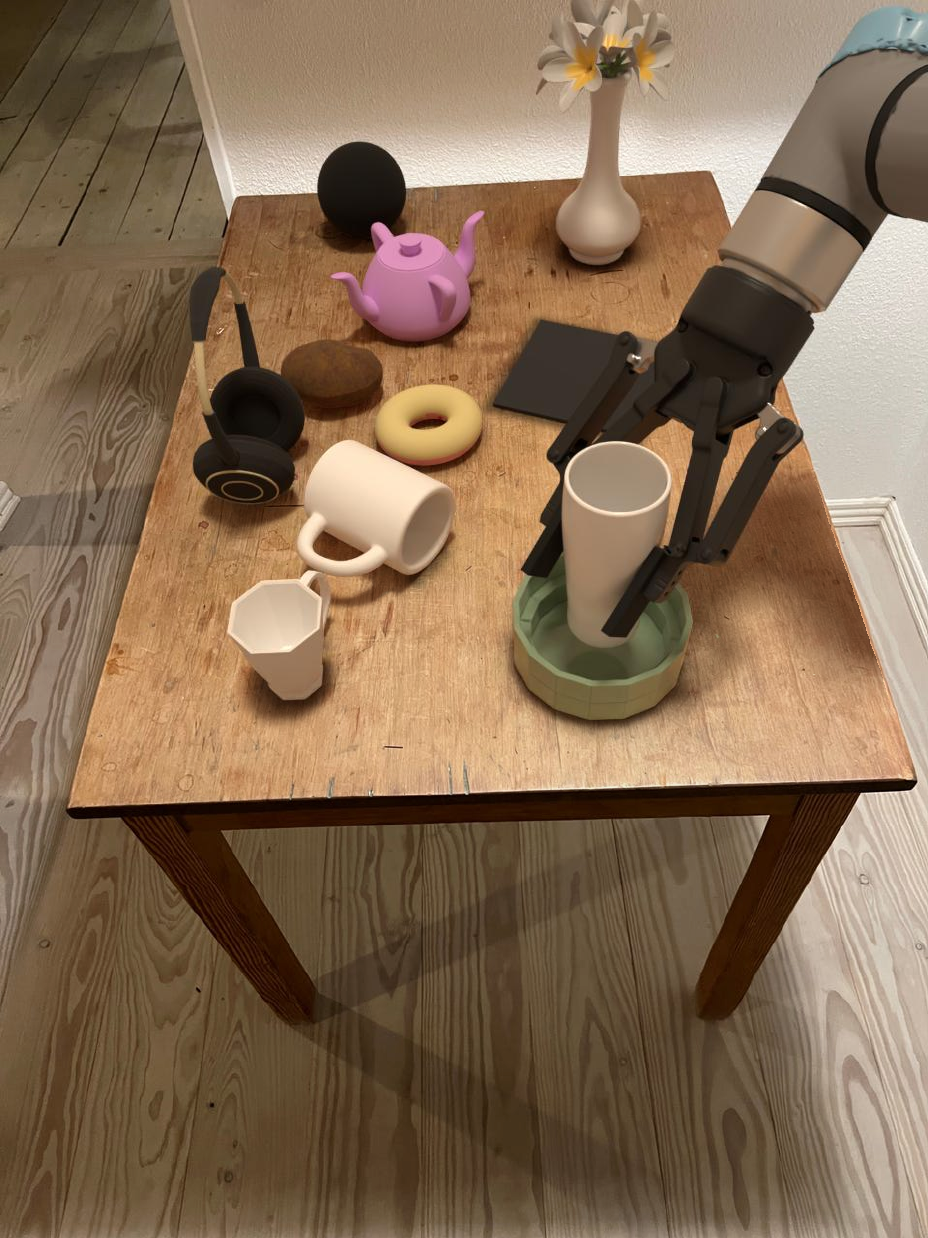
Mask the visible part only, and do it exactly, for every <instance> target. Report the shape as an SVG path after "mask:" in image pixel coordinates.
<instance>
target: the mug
mask: <svg viewBox="0 0 928 1238" xmlns="http://www.w3.org/2000/svg"><path fill="white" fill-rule="evenodd" d="M456 501H457V500H456V497H455V493H454V491H453V489H452V487H450V486H448V485H447V484H445V483H443V482H442V481H439V480H437V479H436V478H435V479H434V478H433V477H431V476H429V475H426V474H425V473H422V472H421V471H419V470H416V469H414V468H412V467H410V466H409V465H406V464H405V463H403V462H401V461H398V460H396V459H394V458H393V457H391V456H389V455H388V456H387V455H385V454H384V453H381V452H380V451H377V450H375V449H373V448H371V447H369V446H367V445H365V444H363V443H362V442H359V441H357V440H353V439H345V440H341V441H339V442H337V443H335V444H333V445H332V446H330V447H329V448H328V449H327V450H326V451H325V452H324V453H323V454H322V456H320V458H319V459H318V460H317V462H316V463H315V464H314V466H313V468H312V470H311V472H310V474H309V476H308V478H307V483H306V485H305V488H304V495H303V510H304V512H305V516H306V518H307V520H306V521H305V523H304V524H303V526H302V527H301V529H300V531H299V533H298V536H297V539H296V549H297V554H298V556H299V557H300V558H301V560H302V561H303V562H304V563H305V564H306V565H307V566H309V567H310V568H311V569H314V571H317V572H320V573H323V574H324V575H328V576H331V577H332V576H333V577H339V578H352V577H353V578H354V577H359V576H363V575H365V574H368V573H370V572H372V571H375V570H376V569H377V568H379V567H381V566H382V565H383V564H384V565H386V566H388V567H389V568H391V569H393V570H395V571H397V572H399V573H401V574H403V575H407V576H410V575H415V574H418V573H420V572H421V571H422V570H424V569H425V568H427V567H429V565H430V564H431V563H432V562H433V560H434V559H436V557H437V555H438V554H439V553H440V552H441V550H442V548H443V547H444V545H445V543H446V541H447V540H448V537H449V535H450V533H451V531H452V527H453V524H454V520H455V516H456V510H457V509H456V507H457V502H456ZM322 532H326V533H327V534H329V535H330V536H333V537H334V538H337V539H338V540H339V541H341V542H344V543H345V544H347V545H349V546H351V547H353V548H355V549H357V550H358V551H359V552H362V553H363V554H361V555H359V556H358V557H355V558H352V559H348V560H332V559H330V558H326V557H323V556H321V555H320V554H318V553H316V551H314V548H313V547H314V543H315V542H316V540H317V538H318V537H319V536H320V534H321V533H322Z"/></svg>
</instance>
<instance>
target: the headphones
mask: <svg viewBox="0 0 928 1238" xmlns="http://www.w3.org/2000/svg"><path fill="white" fill-rule="evenodd" d="M221 279H223V280H224V281H225V282H226V284H227V285H228V288H229V290H230V292H231V293H232V296H233V300H234V302H233V306H234V310H235V315H236V319H237V320H236V321H237V325H238V332H239V338H240V339H239V340H240V348H241V355H242V361H243V366H242V367H240V368H237V369H235V370H231V371H230V372H228V373H227V374H225V375H224V376H223V377H222V378H221V379H220V380H219V381H218V382H217V384H216V385H215V387H214V388H213V389H212V391H211V394H209V390H208V383H207V375H206V364H205V341H207V333H208V328H209V322H210V316H211V314H212V310H213V305H214V303H215V300H216V298H217V295H218V293H219V290H220V286H221ZM188 301H189V326H190V334H191V341H192V342H193V346H194V347H193V348H194V367H195V376H196V377H195V378H196V383H197V389H198V390H197V391H198V395H199V396H198V397H199V401H200V404H201V408H202V416H203V419H204V422H205V425H206V427H207V430H208V434H209V435H210V437H211V438H209V439H208V440H206V441H204V442H202V443H201V444H200V445H199V446H198V448H197V449H196V450H195V452H194V454H193V457H192V458H193V459H192V471H193V474H194V476H195V478H196V479H197V480H198V482H199V483H200V484H201V485H202V486H203V487H204V488H205V489H206V490H207V491H208V492H209V493H211V494H212V495H213V496H214V497H216V498H219V499H221V500H223V501H227V502H229V503H235V504H241V505H261V504H266V503H269V502H271V501H274V500H275V499H277V498H278V497H280V496H282V495H283V494H284V493H286V492H287V491H288V490H289V489H290V488H291V487H292V485H293V484H294V481H295V475H296V467H295V462H294V460H293V459H292V456H291V455H290V454H289V453H288V452H289V451H290V450H292V449H293V448H294V447H295V446H296V444H297V443H298V442H299V440H300V438H301V437H302V433H303V431H304V429H305V422H306V415H305V408H304V407H305V406H304V404H303V400H301V398H300V396H299V394H298V392H297V391H296V389H295V388H294V387H293V385H292V384H291V383H290V382H289V381H288V380H287V379H285V378H284V377H282V376H281V374H279V373H278V372H275V371H274V370H272V369H270V368H269V369H268V368H265V367H261V365H260V361H259V360H260V359H259V355H258V350H257V349H258V348H257V345H256V339H255V335H254V331H253V328H252V327H253V326H252V323H251V319H250V315H249V311H248V308H247V304H246V301H245V300H244V299H243V296H242V293H241V290H240V288H239V286H238V284H237V282H236V281H235V279H234V278H233V277H232V275H231V274H230V273H229V272H227V270H226V269H225V268H223V267H219V266H211V267H209V268H207V269H205V270H203V271H202V272H201V273H200V274H199V275H197V277H196V279H195V280H194V281H193V283H192V285H191V287H190V291H189V300H188Z"/></svg>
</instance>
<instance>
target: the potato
mask: <svg viewBox="0 0 928 1238" xmlns="http://www.w3.org/2000/svg"><path fill="white" fill-rule="evenodd" d="M280 375H281V376H282V377H284V378H285V379H287V380H288V381H289V382H290V383H291V384H292V385H293V387H294V388H295V389H296V391H297V392H298V394H299V396H300V398H301V400H302V402H305V403H308V404H311V405H315V406H318V407H321V408H326V409H329V408H330V409H331V408H334V409H335V408H346V407H352V406H356V405H359V404H361V403H363V402H365V401H367V400H369V399H370V398H371V397H372V396H374V395H375V393H377V392H378V390H379V388H380V387H381V384H382V382H383V379H384V378H383V377H384V371H383V364H382V363H381V361H380V360H379V358H378V356H377V355H376V354H375V353H374V352H373V351H372V350H371V349H369V348H367V347H359V346H354V345H349V344H347V343H345V342H342V341H340V340H336V339H331V338H326V339H318V340H314V341H310V342H306V343H304V344H301V345H299V346H296V347H295V348H294V349H293V350H291V351H289V353H288V354H287V355H286V356H285V357H284V359H283V360H282V362H281V367H280Z"/></svg>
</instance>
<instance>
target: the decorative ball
mask: <svg viewBox="0 0 928 1238" xmlns="http://www.w3.org/2000/svg"><path fill="white" fill-rule="evenodd" d="M401 168H402V167H400V164H399V163H398V161H397V160H396V159H395V157H393V155H391V154H390V152H388V151H387V150H386V149H385V148H383V147H381V146H380V145H377V144H375V143H373V142H368V141H351V142H347V143H345V144H342V145H340V146H338V147H336V148H335V149H334V150H333V151H332V152H330V154H329V155H328V156H327V157H326V159H325V160H324V161H323V163H322V165H321V167H320V170H319V173H318V177H317V183H316V193H317V200H318V203H319V206H320V208H321V211H322V213H323V216H325V218H326V219H327V221H328V222H329V223H330V224H331V226H333V228H335V230H337V231H338V232H340V233H342V234H344V235H345V236H348V237H350V238H355V239H360V240H361V239H365V240H366V239H367V240H368V239H372V234H371V227H372V225H373V224H374V223H377V222H379V223H382V224H384V225H385V226H386V227H387V228H388V229H389V230H391V228H393V227H394V225H395V224H396V223H397V222H398V221H399V219H400V217H401V216H402V213H403V211H404V208H405V205H406V201H407V186H406V185H407V184H406V180H405V176H404V174H403V173H404V172H403V171H402V169H401Z"/></svg>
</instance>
